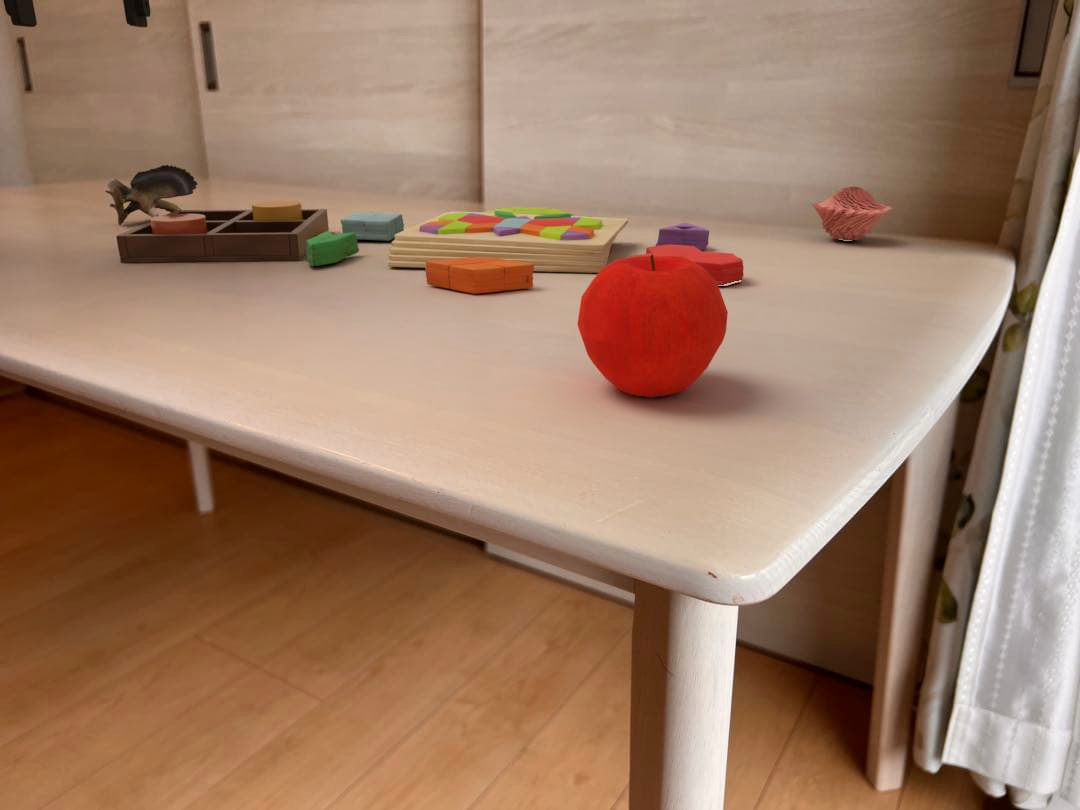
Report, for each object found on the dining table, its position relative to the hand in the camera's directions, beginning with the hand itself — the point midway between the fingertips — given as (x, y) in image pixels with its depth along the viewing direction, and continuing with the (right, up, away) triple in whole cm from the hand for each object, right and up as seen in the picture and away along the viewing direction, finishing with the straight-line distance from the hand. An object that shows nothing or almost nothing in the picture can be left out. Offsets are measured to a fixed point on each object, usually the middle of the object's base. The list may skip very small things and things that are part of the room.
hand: (81, 26), depth 76 cm
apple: (+46, -33, -28) cm, 64 cm away
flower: (+73, -16, +14) cm, 76 cm away
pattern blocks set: (+38, -19, +8) cm, 43 cm away
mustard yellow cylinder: (+13, -15, +15) cm, 25 cm away
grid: (+9, -17, +12) cm, 23 cm away
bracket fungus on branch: (-5, -12, +27) cm, 30 cm away
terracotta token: (+6, -18, +8) cm, 21 cm away
